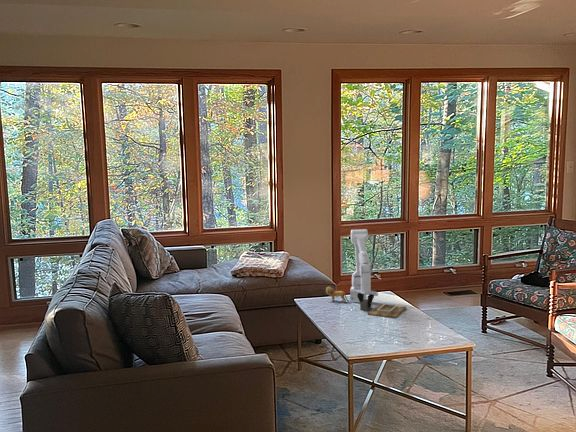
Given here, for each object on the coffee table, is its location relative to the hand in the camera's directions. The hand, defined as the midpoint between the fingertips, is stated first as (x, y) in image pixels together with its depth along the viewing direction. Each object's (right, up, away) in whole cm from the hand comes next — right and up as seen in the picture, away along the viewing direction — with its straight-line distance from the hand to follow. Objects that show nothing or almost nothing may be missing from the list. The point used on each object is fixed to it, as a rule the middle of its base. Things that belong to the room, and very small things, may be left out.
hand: (365, 306), depth 331 cm
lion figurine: (-15, 0, +18) cm, 24 cm away
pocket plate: (+11, -2, -6) cm, 13 cm away
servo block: (0, -2, 0) cm, 2 cm away
